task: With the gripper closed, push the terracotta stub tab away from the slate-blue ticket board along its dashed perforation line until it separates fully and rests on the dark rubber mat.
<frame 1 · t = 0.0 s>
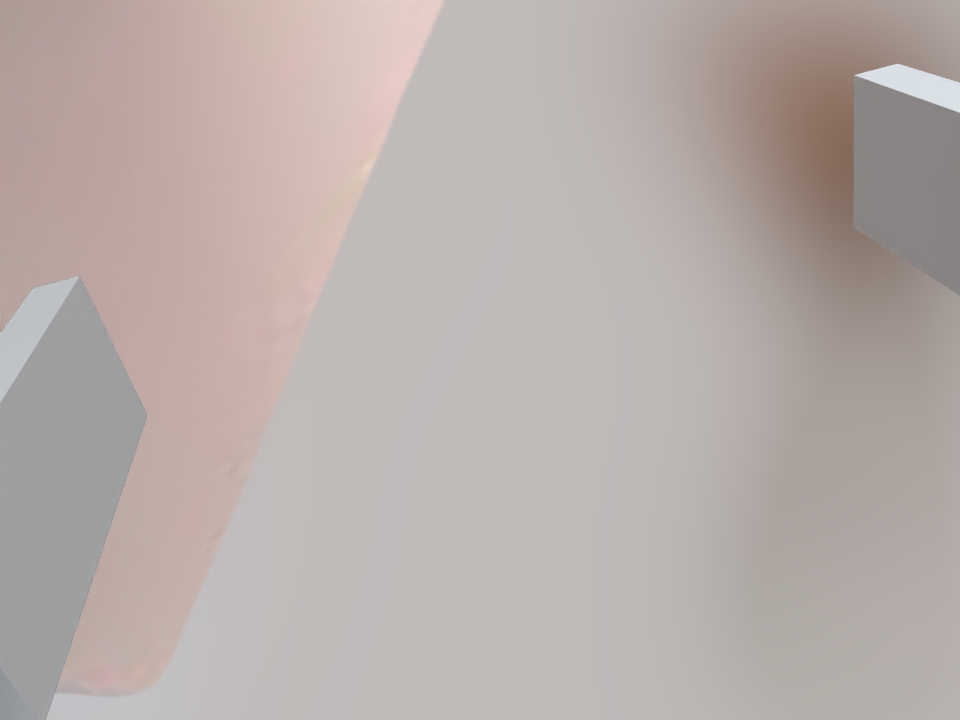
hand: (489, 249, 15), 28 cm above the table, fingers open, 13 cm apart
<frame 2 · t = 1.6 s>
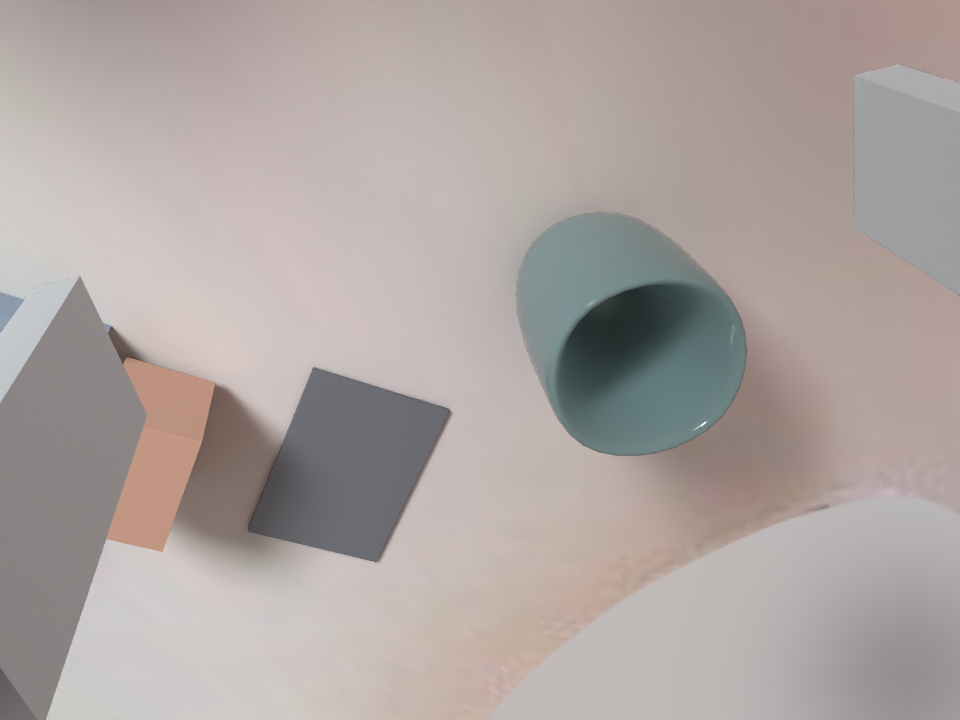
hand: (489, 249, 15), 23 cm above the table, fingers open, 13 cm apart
cup: (580, 269, 41), on the table
stub: (143, 454, 39), point 3 cm above the table, slide at 0.0 cm
mat: (346, 469, 44), on the table
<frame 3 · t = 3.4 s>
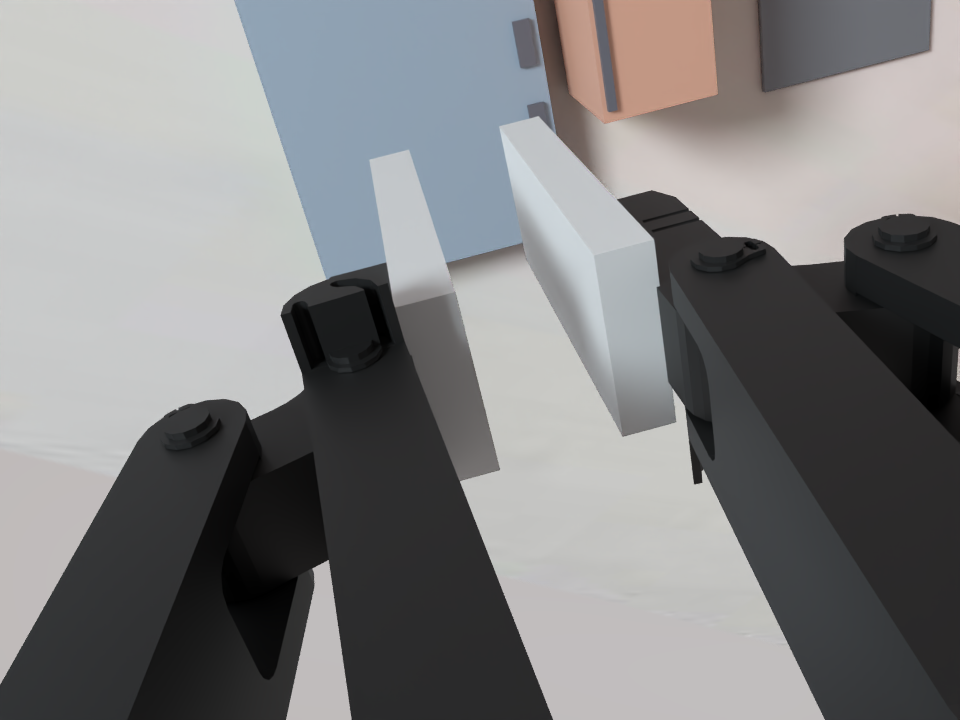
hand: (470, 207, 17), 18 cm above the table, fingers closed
ticket board: (411, 103, 34), on the table
stub: (629, 8, 30), point 3 cm above the table, slide at 0.0 cm
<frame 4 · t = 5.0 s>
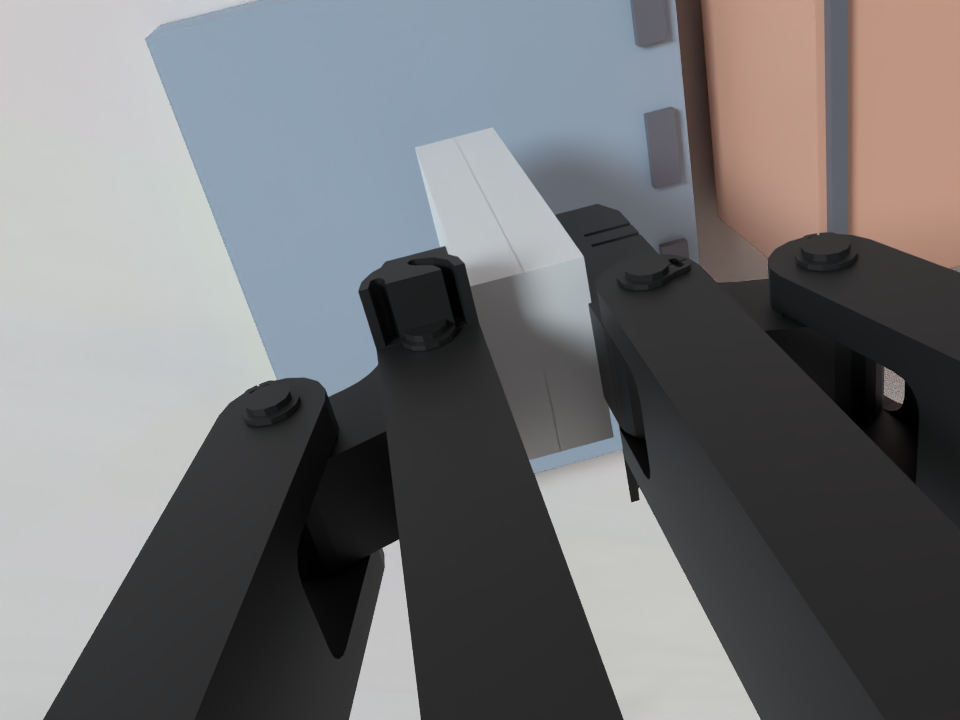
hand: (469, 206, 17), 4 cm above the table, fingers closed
ticket board: (464, 234, 21), on the table
stub: (854, 94, 17), point 3 cm above the table, slide at 0.0 cm
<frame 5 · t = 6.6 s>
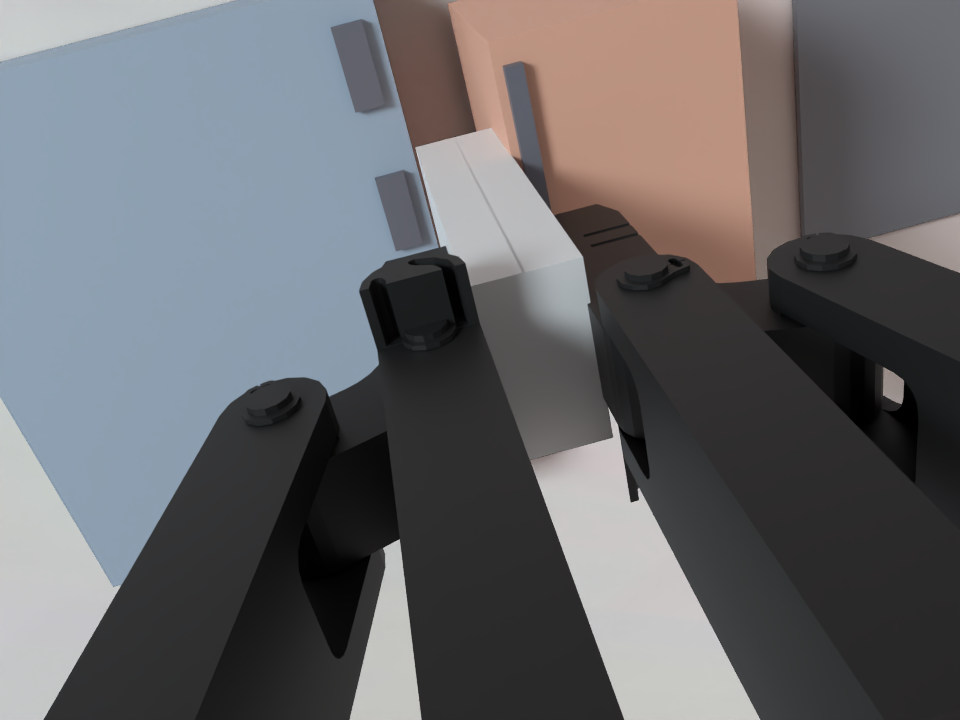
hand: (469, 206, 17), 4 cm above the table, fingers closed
ticket board: (228, 293, 21), on the table
stub: (598, 153, 17), point 3 cm above the table, slide at 0.5 cm, touching gripper
mat: (940, 15, 20), on the table
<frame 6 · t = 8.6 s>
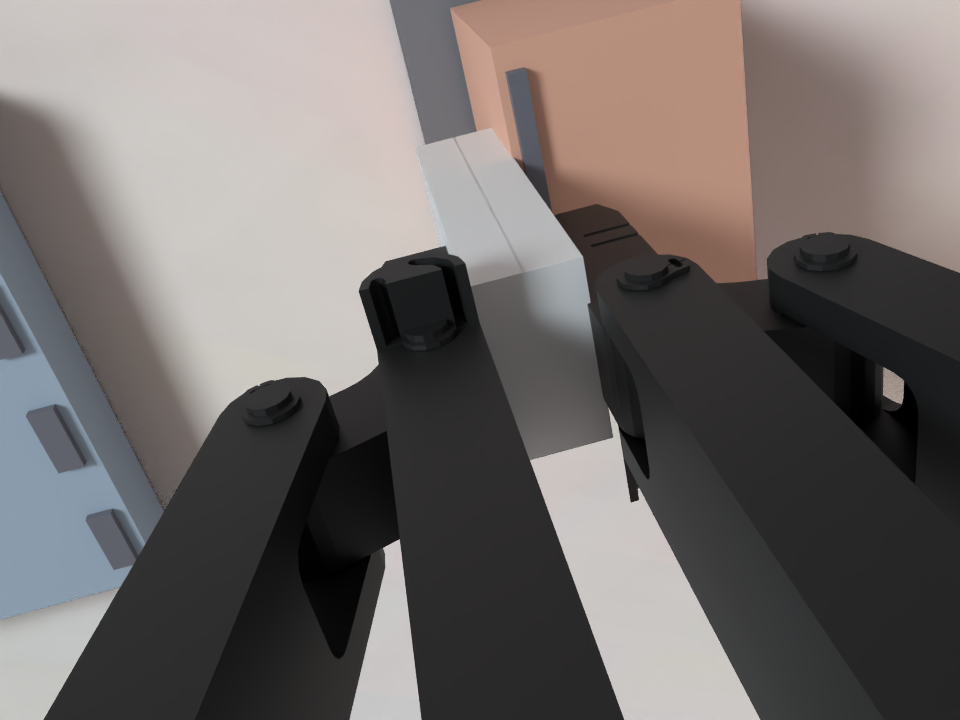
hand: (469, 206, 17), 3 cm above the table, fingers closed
stub: (600, 159, 17), point 3 cm above the table, slide at 9.1 cm, touching gripper
mat: (578, 118, 20), on the table
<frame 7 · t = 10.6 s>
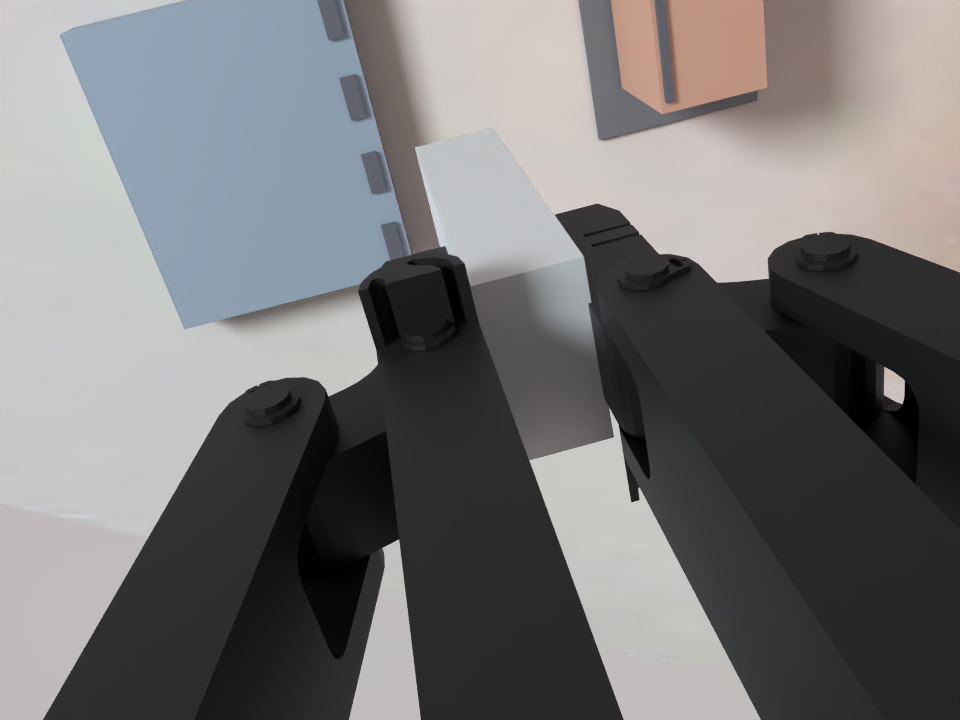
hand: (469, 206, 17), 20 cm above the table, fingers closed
ticket board: (256, 151, 36), on the table
stub: (683, 7, 33), point 3 cm above the table, slide at 9.2 cm
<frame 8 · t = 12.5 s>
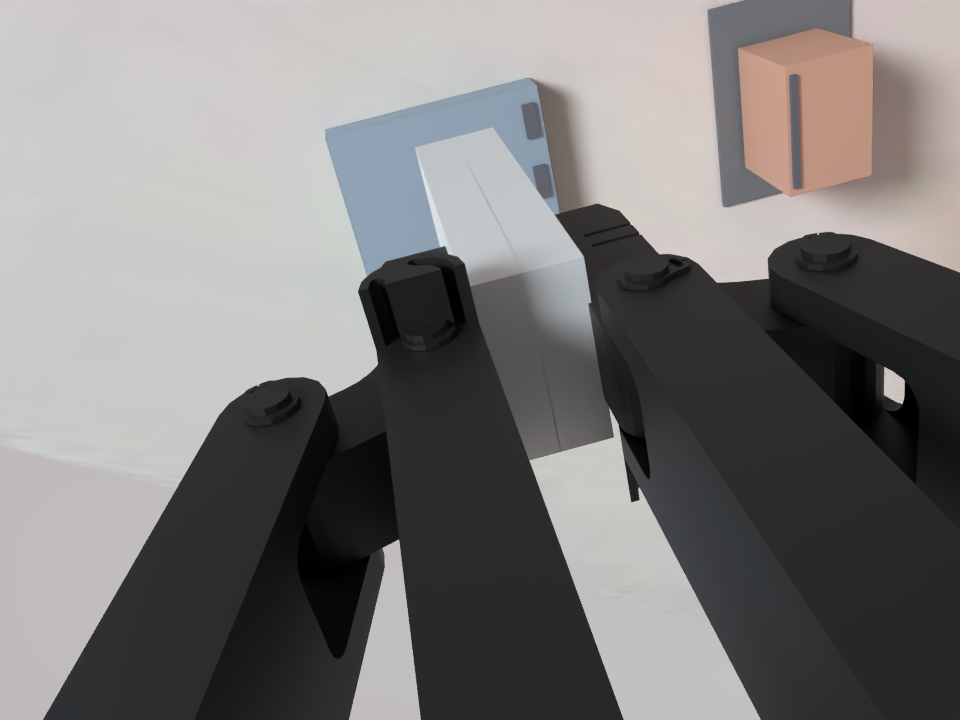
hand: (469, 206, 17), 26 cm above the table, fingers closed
ticket board: (455, 220, 45), on the table
stub: (804, 111, 42), point 3 cm above the table, slide at 9.2 cm
mat: (782, 96, 44), on the table
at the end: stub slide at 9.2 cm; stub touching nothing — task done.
